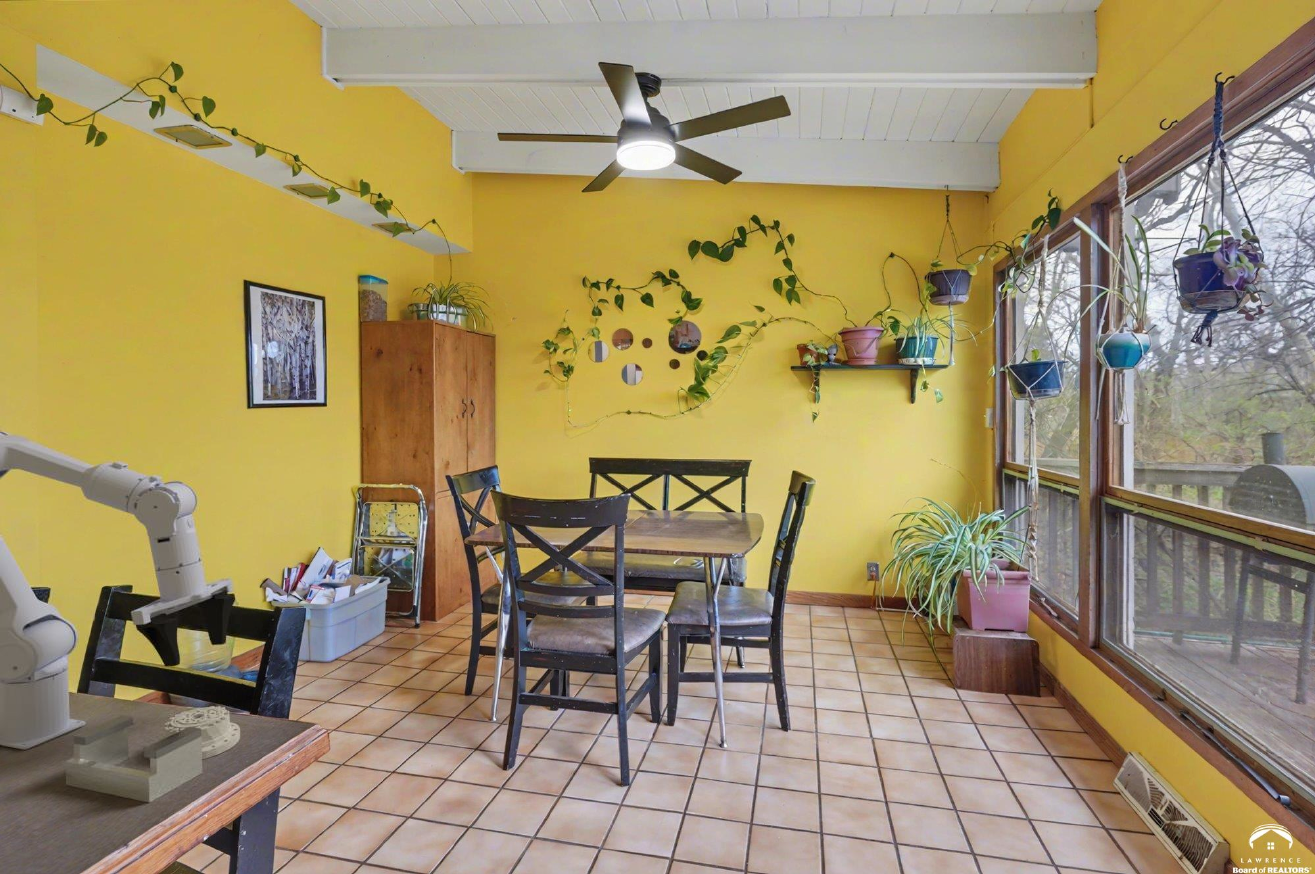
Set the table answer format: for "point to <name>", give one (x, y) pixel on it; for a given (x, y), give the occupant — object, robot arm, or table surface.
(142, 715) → the table surface
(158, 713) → the table surface
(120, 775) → the bracket
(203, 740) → the mechanical component
